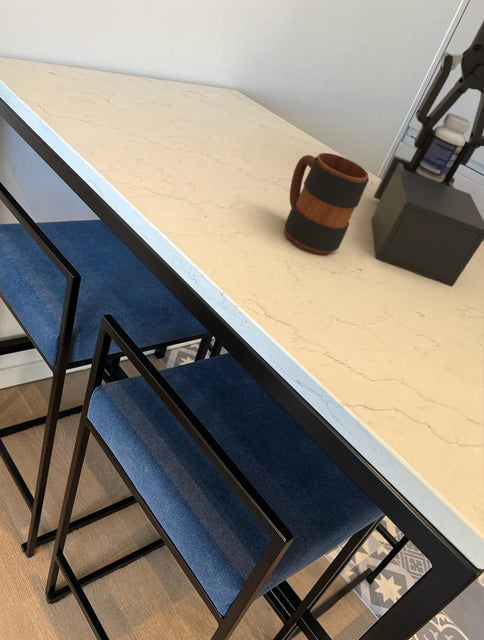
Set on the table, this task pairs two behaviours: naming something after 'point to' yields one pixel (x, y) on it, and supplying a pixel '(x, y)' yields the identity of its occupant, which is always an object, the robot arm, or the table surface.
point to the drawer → (390, 173)
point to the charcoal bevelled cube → (426, 227)
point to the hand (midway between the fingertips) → (428, 173)
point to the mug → (323, 201)
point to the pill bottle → (443, 148)
